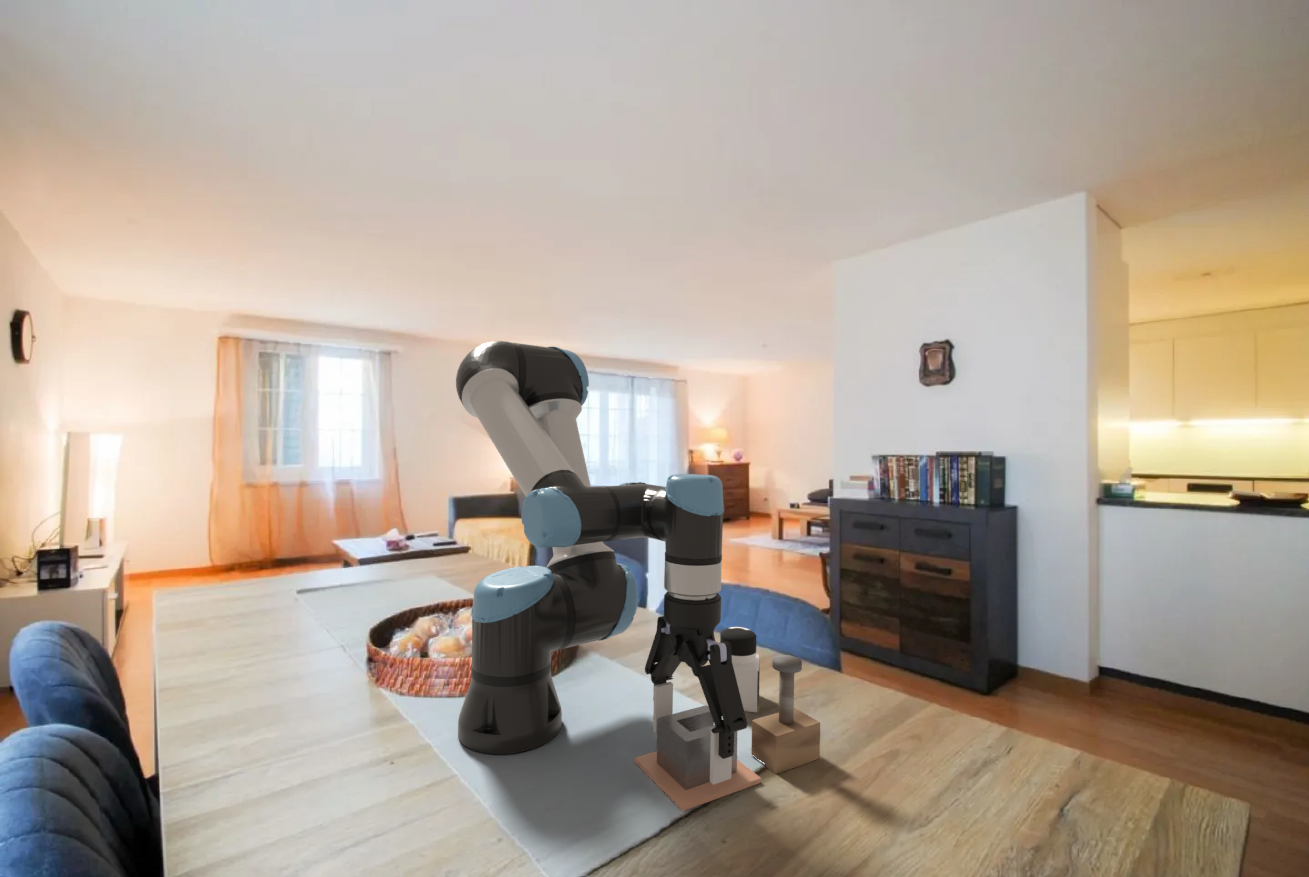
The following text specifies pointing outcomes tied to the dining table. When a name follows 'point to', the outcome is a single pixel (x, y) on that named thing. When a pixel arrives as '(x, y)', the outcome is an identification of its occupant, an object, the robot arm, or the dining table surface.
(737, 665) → the medicine bottle
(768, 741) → the knob on wooden block
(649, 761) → the tile
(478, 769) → the dining table surface
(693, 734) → the c link
